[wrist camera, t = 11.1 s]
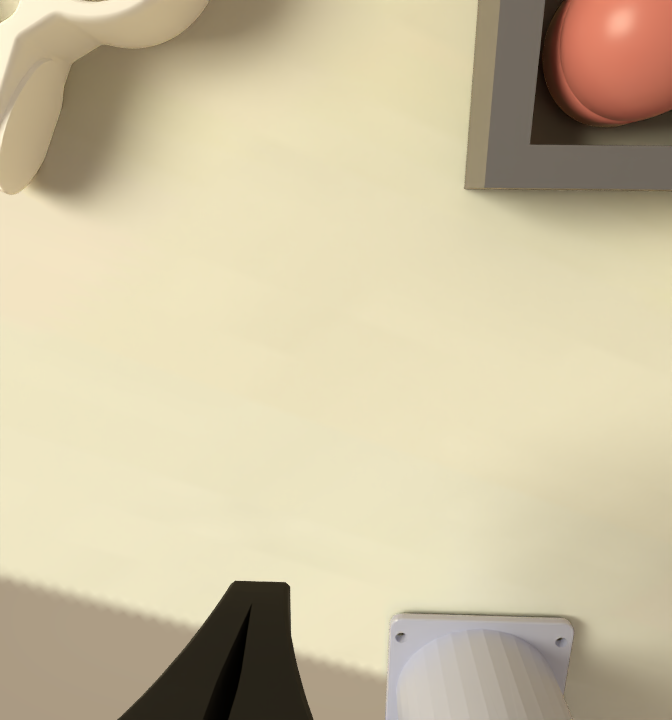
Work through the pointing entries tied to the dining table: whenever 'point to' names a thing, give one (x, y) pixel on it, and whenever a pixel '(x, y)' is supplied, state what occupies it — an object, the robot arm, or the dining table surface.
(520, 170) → the dome housing
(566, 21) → the salmon ball
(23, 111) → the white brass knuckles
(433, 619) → the robot arm
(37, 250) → the dining table surface
